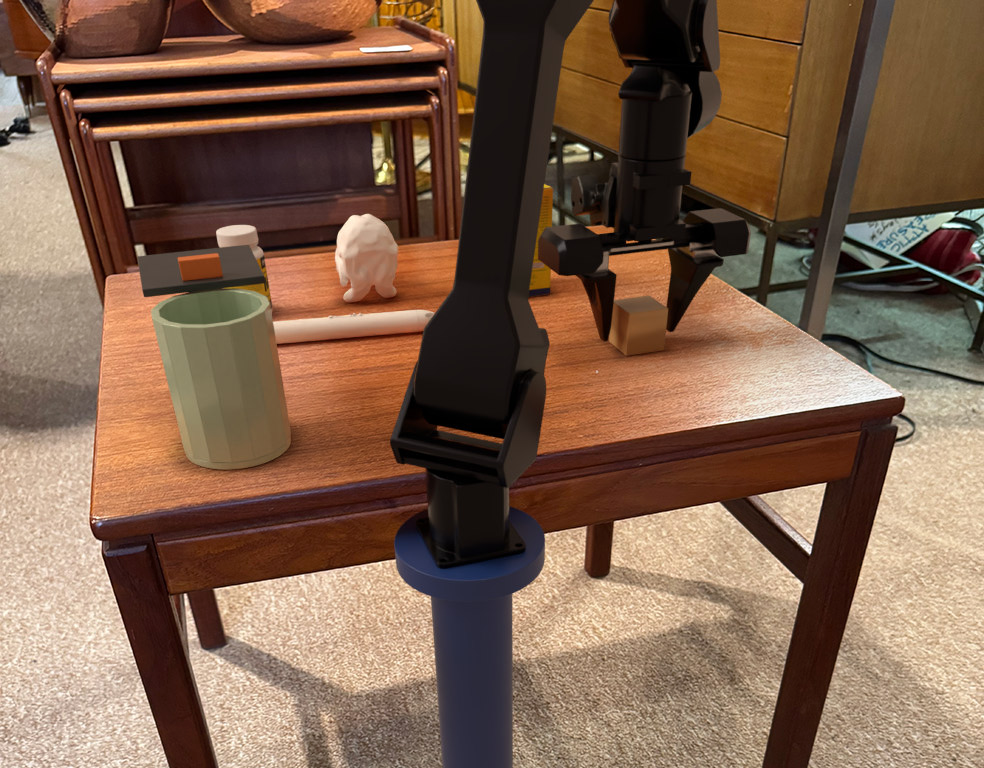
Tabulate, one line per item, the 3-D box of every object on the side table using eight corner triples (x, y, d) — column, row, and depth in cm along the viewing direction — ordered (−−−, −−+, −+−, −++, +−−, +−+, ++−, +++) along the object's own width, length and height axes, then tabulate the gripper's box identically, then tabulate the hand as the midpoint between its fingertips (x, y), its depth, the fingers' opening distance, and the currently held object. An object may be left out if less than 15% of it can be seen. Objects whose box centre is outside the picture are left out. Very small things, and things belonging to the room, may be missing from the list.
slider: (265, 283, 72) (260, 254, 70) (144, 297, 69) (136, 268, 68) (250, 251, 78) (245, 225, 77) (138, 263, 76) (132, 236, 75)
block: (664, 350, 89) (668, 308, 87) (626, 356, 88) (629, 313, 86) (645, 336, 92) (649, 295, 90) (608, 341, 91) (611, 300, 89)
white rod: (441, 325, 96) (440, 302, 94) (444, 332, 94) (443, 308, 92) (263, 340, 93) (259, 317, 91) (263, 348, 91) (259, 324, 90)
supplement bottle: (278, 317, 98) (265, 232, 93) (234, 324, 97) (217, 238, 91) (266, 303, 102) (253, 221, 96) (223, 310, 100) (207, 227, 95)
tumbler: (299, 459, 73) (277, 317, 66) (189, 477, 71) (154, 333, 64) (282, 416, 79) (260, 282, 72) (181, 431, 77) (148, 296, 70)
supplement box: (483, 284, 105) (481, 178, 99) (533, 279, 107) (534, 173, 100) (499, 301, 101) (498, 191, 94) (551, 295, 102) (554, 186, 96)
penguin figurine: (337, 221, 94) (316, 206, 104) (348, 309, 99) (327, 287, 108) (398, 215, 96) (372, 200, 105) (406, 302, 100) (380, 280, 110)
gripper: (703, 129, 88) (684, 298, 98) (517, 145, 84) (516, 320, 93) (766, 152, 80) (739, 333, 90) (564, 171, 75) (558, 360, 85)
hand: (636, 335), depth 90 cm, fingers open, 7 cm apart
